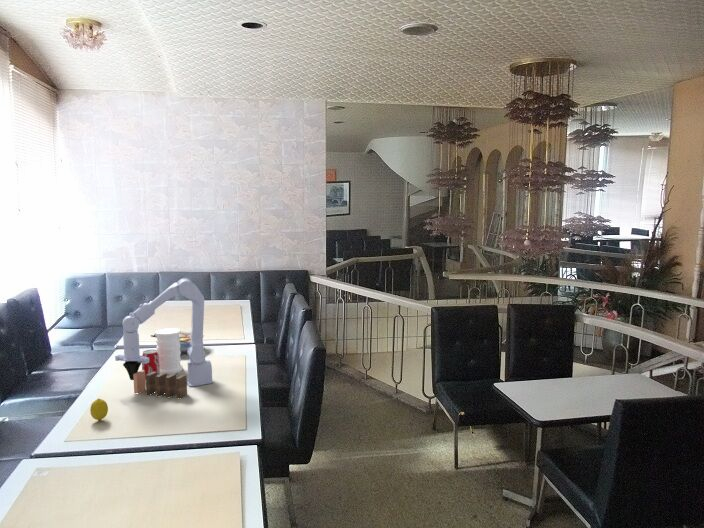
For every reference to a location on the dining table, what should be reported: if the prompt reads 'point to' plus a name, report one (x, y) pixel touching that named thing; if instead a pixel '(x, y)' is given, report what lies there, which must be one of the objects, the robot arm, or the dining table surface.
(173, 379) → the domino
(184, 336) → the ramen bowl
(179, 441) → the dining table surface
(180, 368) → the decorative container
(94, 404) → the lemon
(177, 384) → the domino
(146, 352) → the soda can
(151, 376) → the domino
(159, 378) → the domino
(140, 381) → the salmon pink rectangular block
